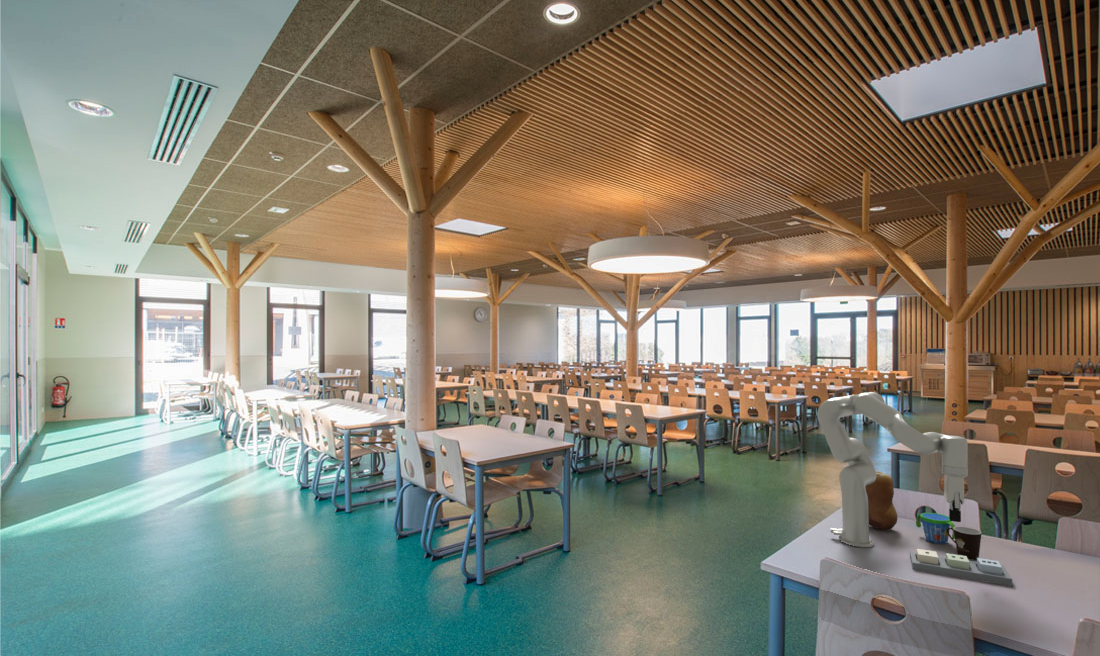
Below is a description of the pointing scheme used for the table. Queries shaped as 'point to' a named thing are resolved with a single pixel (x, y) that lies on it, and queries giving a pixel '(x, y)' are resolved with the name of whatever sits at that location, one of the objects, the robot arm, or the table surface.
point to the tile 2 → (989, 566)
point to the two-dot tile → (957, 561)
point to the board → (960, 570)
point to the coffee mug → (967, 541)
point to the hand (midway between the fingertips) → (955, 520)
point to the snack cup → (935, 527)
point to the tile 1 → (927, 556)
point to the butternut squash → (881, 502)
